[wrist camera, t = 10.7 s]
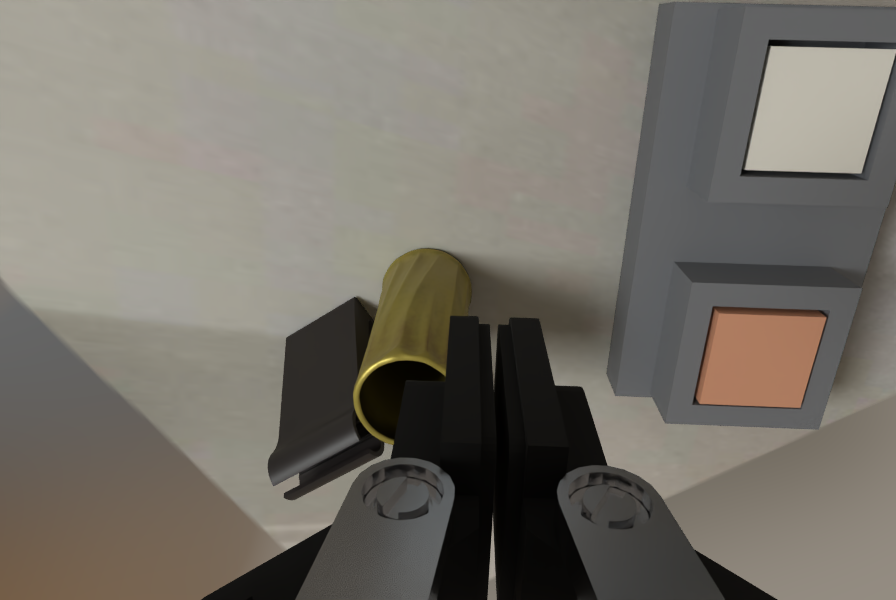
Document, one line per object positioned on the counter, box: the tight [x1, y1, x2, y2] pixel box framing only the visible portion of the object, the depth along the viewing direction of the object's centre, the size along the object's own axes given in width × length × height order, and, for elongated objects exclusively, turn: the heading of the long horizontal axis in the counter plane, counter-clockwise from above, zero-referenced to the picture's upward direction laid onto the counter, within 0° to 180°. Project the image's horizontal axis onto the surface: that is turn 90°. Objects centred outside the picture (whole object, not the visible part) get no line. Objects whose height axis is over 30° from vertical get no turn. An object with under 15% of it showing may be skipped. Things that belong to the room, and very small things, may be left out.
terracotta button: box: [694, 306, 827, 408], centre depth 38 cm, size 6×6×3 cm
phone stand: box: [268, 297, 384, 500], centre depth 40 cm, size 9×6×12 cm, turn 32°
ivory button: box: [742, 46, 896, 174], centre depth 33 cm, size 6×6×3 cm
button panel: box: [607, 2, 896, 429], centre depth 37 cm, size 24×14×6 cm, turn 179°
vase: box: [353, 249, 472, 445], centre depth 36 cm, size 6×6×14 cm
